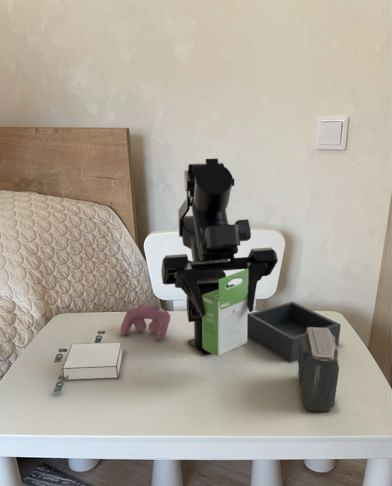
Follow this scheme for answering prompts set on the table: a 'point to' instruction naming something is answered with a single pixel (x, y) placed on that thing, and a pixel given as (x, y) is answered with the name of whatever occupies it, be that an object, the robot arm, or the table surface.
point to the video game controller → (146, 312)
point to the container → (91, 361)
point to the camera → (318, 368)
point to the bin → (287, 327)
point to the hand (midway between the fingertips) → (227, 313)
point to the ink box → (226, 315)
